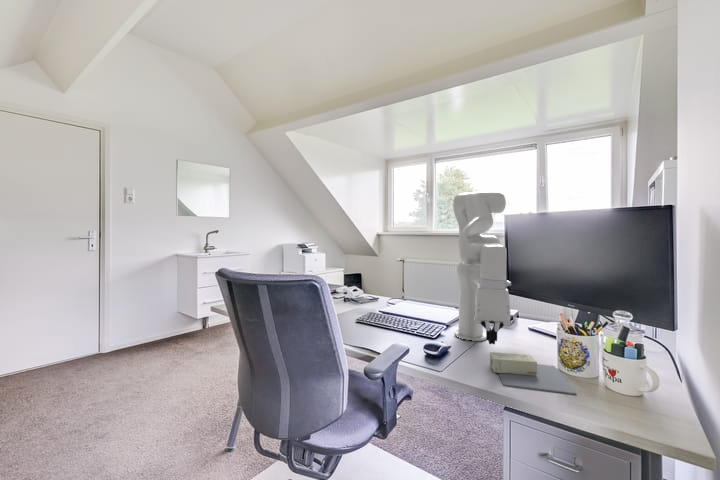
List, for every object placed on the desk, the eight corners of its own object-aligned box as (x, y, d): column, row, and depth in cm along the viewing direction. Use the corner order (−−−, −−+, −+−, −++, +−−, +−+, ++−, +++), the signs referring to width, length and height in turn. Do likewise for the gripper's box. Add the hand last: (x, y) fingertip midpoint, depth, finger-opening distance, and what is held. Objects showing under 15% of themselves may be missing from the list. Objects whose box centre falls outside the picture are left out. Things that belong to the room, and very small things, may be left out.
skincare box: (493, 372, 97) (537, 377, 94) (493, 358, 97) (537, 362, 94) (489, 364, 103) (530, 368, 101) (489, 351, 103) (530, 354, 101)
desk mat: (494, 360, 107) (494, 359, 107) (554, 367, 102) (554, 365, 102) (503, 385, 90) (503, 384, 90) (576, 394, 85) (576, 393, 85)
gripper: (516, 283, 101) (515, 341, 101) (466, 281, 105) (465, 336, 105) (521, 287, 94) (520, 349, 94) (468, 285, 98) (467, 344, 98)
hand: (491, 342), depth 100 cm, fingers closed
